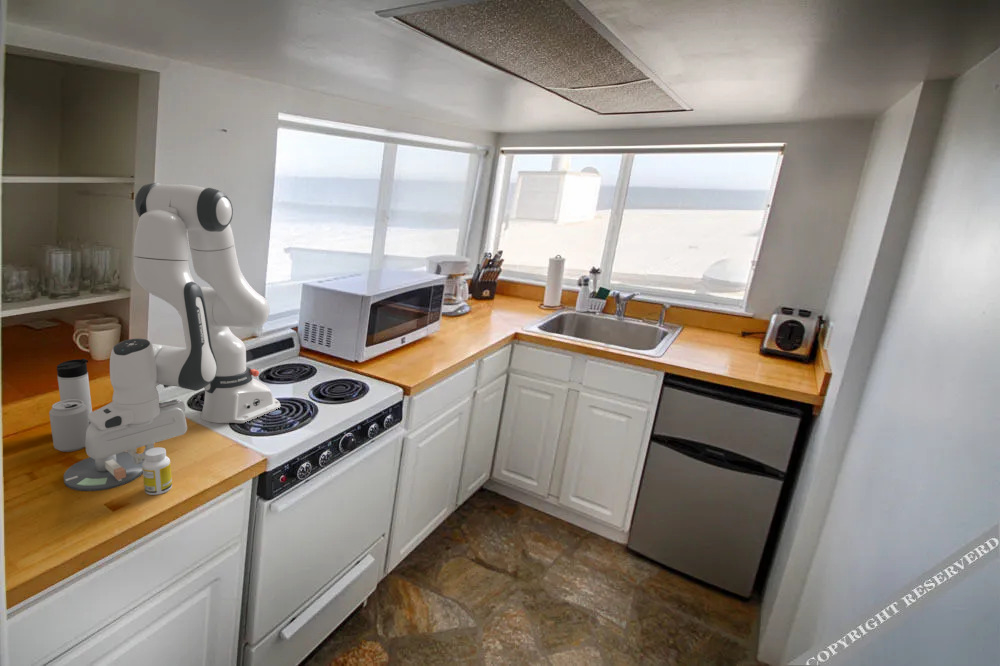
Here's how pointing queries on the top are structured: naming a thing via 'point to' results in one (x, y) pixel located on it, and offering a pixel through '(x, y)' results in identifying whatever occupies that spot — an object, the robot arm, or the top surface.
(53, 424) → the can
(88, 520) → the top surface
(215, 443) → the top surface
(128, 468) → the dial plate
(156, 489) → the supplement bottle
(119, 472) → the needle
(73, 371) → the travel mug
